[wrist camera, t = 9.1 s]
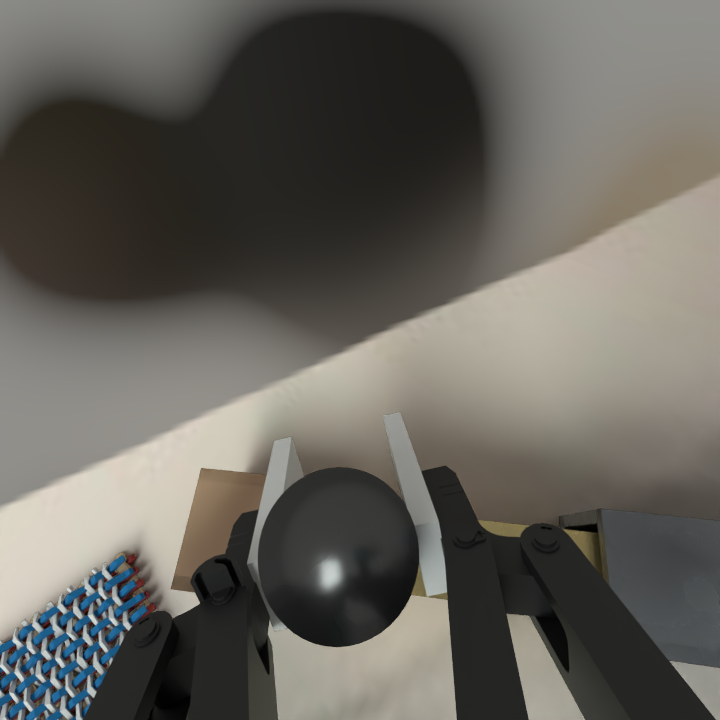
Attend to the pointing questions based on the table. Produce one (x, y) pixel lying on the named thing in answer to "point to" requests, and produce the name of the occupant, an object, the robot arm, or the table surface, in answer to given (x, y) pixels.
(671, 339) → the table surface
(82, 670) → the woven mat
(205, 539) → the socket
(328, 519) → the slide bolt with knob
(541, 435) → the table surface
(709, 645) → the sleeve
